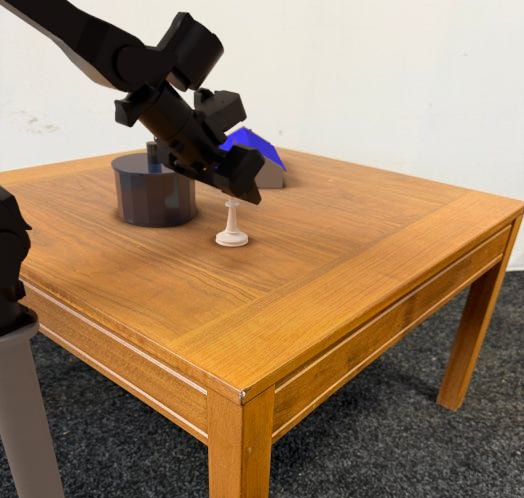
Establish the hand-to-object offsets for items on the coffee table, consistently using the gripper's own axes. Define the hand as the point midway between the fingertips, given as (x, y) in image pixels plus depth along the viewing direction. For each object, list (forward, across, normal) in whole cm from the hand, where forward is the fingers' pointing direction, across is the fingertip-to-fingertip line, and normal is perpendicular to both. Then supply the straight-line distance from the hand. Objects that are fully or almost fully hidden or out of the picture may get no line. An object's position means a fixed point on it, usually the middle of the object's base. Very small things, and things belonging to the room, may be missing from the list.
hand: (241, 194), depth 81 cm
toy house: (+22, +29, -12) cm, 39 cm away
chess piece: (+4, 0, +6) cm, 7 cm away
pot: (+1, +17, +8) cm, 19 cm away
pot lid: (-4, +17, +2) cm, 17 cm away
